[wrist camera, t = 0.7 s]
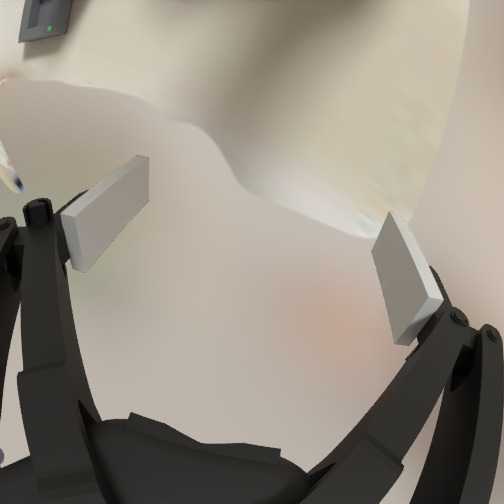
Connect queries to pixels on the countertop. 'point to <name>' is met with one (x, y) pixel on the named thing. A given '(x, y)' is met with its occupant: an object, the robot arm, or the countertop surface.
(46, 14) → the port
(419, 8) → the countertop surface
